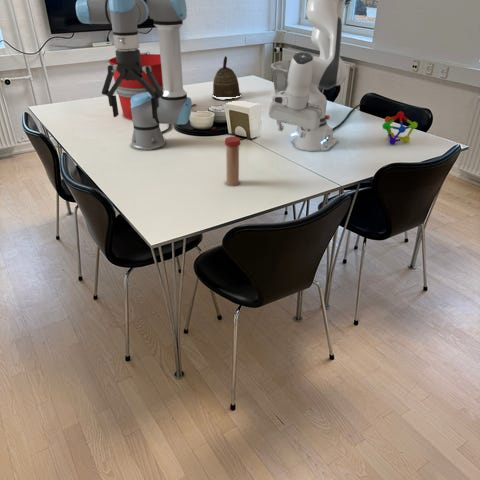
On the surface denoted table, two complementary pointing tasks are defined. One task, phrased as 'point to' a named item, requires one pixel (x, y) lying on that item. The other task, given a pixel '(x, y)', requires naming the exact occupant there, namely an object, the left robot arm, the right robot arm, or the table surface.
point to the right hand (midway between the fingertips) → (291, 133)
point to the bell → (225, 82)
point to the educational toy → (398, 128)
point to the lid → (232, 141)
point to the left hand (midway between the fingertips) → (135, 116)
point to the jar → (232, 165)
